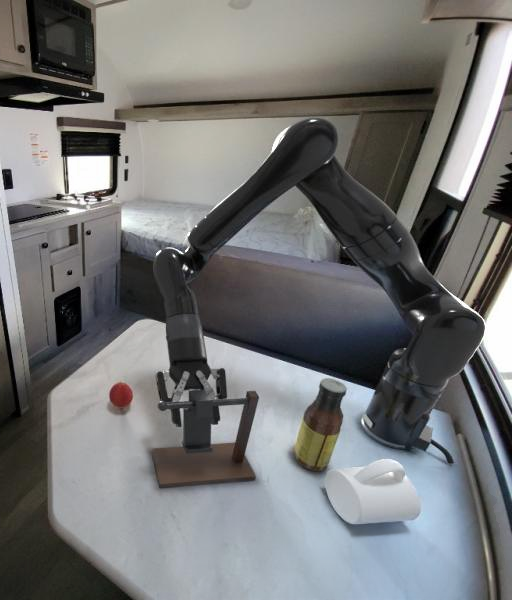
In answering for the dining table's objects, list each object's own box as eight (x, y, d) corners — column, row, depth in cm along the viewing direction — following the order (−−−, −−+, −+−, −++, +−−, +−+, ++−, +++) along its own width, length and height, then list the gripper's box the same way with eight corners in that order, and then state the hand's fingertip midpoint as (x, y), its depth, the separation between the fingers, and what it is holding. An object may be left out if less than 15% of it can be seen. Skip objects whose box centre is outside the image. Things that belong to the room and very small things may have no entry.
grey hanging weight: (181, 444, 62) (181, 388, 61) (206, 442, 63) (207, 387, 61) (190, 461, 57) (190, 401, 56) (217, 459, 58) (218, 399, 56)
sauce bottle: (322, 451, 68) (352, 377, 60) (330, 477, 63) (364, 400, 54) (288, 443, 70) (312, 370, 62) (293, 467, 65) (320, 392, 56)
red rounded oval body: (105, 411, 79) (105, 386, 76) (114, 396, 84) (114, 371, 80) (128, 418, 77) (128, 392, 74) (135, 401, 82) (136, 377, 78)
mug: (319, 487, 61) (338, 443, 56) (371, 484, 62) (394, 440, 56) (351, 535, 54) (376, 489, 48) (409, 531, 54) (440, 485, 49)
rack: (255, 480, 63) (275, 409, 54) (157, 488, 61) (163, 416, 53) (237, 445, 70) (253, 378, 62) (149, 452, 69) (153, 384, 60)
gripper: (153, 337, 62) (163, 429, 57) (225, 333, 63) (242, 424, 58) (148, 344, 69) (156, 427, 64) (212, 341, 70) (226, 422, 65)
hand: (196, 425), depth 61 cm, fingers open, 6 cm apart
